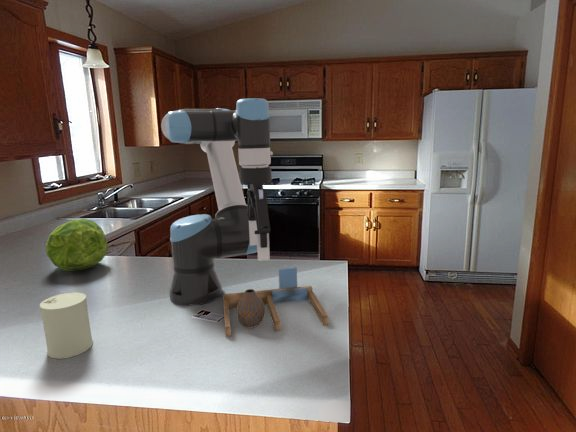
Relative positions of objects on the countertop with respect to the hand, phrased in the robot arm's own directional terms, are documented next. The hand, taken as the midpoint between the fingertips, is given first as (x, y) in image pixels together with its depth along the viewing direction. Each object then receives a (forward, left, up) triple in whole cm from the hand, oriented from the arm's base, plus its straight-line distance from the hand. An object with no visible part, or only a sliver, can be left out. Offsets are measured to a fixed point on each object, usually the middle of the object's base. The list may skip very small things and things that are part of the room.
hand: (259, 252), depth 100 cm
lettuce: (-61, +55, -18) cm, 84 cm away
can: (-44, -5, -18) cm, 48 cm away
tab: (+9, +10, -14) cm, 20 cm away
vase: (-3, -3, -18) cm, 18 cm away
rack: (+3, +1, -18) cm, 18 cm away
